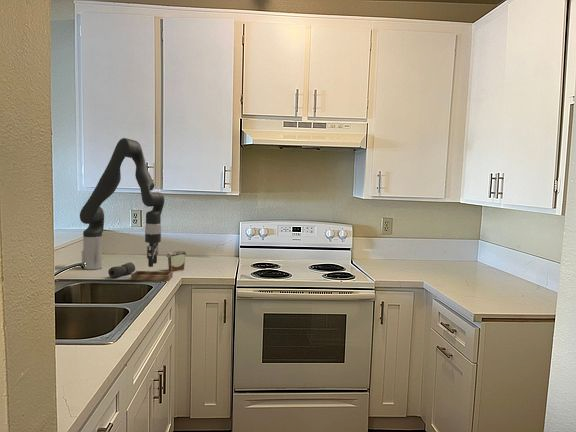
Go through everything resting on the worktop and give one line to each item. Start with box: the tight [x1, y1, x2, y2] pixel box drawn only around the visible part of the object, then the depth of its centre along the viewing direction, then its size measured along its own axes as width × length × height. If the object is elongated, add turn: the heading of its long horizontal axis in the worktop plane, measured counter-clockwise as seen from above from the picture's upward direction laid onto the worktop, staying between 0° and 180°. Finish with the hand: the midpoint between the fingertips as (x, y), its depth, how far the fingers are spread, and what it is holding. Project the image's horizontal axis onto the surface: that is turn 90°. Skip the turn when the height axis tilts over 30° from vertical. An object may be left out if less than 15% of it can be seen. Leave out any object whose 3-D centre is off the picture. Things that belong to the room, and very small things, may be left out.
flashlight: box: [108, 261, 137, 278], centre depth 237 cm, size 15×5×5 cm, turn 162°
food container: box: [166, 250, 187, 273], centre depth 255 cm, size 12×6×10 cm, turn 149°
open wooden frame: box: [130, 270, 174, 282], centre depth 234 cm, size 18×10×2 cm, turn 94°
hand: (152, 265), depth 233 cm, fingers open, 8 cm apart
